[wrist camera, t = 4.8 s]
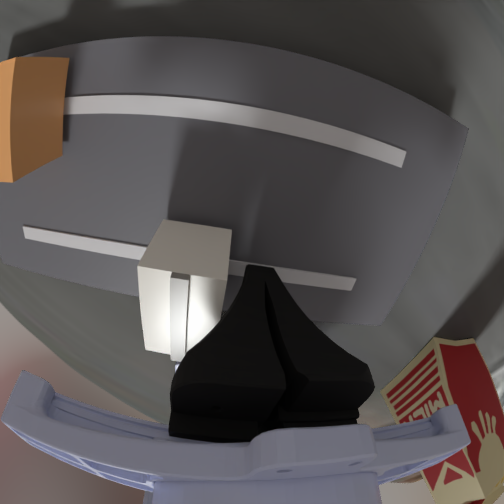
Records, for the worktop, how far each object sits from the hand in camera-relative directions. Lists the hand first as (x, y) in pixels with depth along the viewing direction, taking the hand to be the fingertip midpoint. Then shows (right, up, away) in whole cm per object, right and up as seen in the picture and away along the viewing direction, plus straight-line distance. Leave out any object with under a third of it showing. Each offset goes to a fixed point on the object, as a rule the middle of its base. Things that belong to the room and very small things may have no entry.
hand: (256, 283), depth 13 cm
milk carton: (+19, -11, +11) cm, 25 cm away
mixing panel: (-3, +5, 0) cm, 6 cm away
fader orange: (-10, +8, -4) cm, 13 cm away
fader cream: (-3, +1, 0) cm, 3 cm away
